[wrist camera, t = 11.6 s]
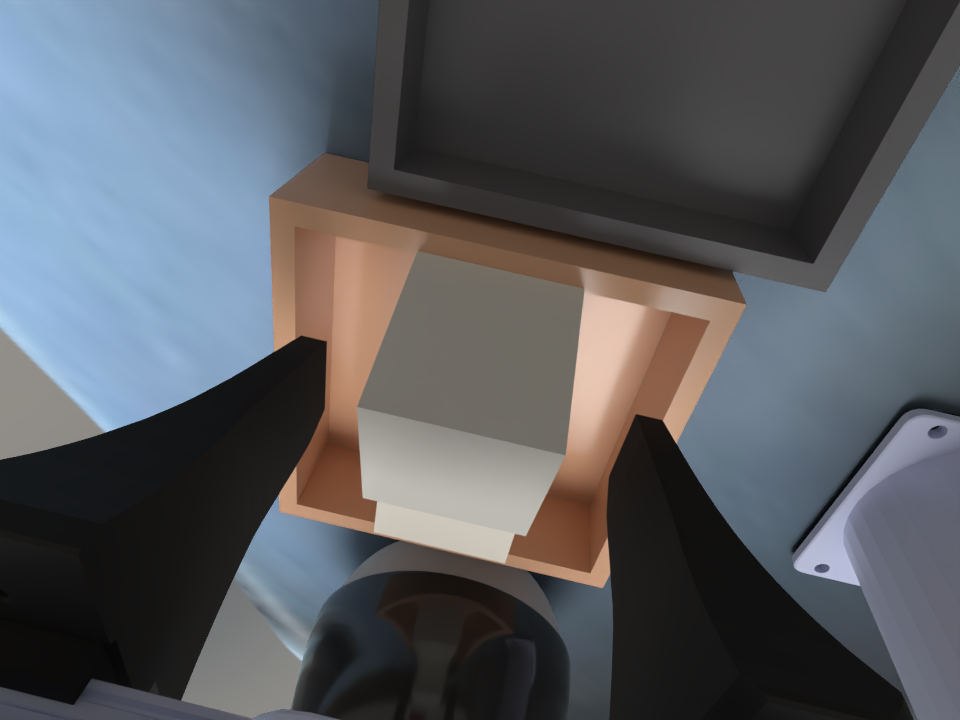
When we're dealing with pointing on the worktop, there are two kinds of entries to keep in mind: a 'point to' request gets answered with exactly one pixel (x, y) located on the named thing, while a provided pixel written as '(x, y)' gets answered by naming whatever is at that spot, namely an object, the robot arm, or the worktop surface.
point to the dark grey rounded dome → (435, 643)
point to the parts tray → (662, 118)
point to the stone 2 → (442, 532)
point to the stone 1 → (471, 394)
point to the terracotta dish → (510, 247)
